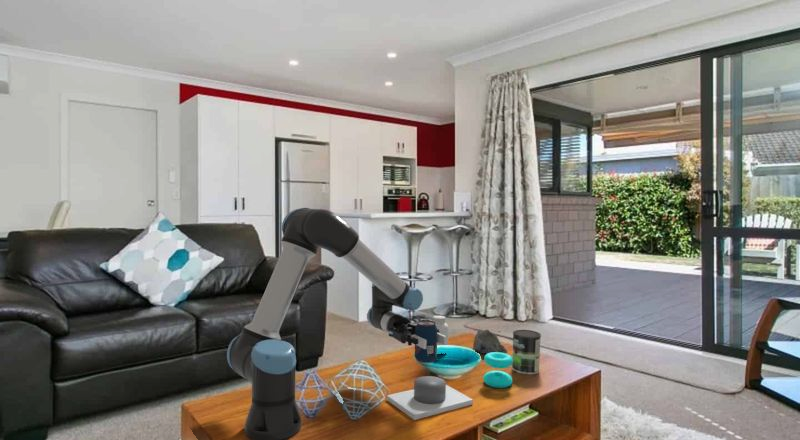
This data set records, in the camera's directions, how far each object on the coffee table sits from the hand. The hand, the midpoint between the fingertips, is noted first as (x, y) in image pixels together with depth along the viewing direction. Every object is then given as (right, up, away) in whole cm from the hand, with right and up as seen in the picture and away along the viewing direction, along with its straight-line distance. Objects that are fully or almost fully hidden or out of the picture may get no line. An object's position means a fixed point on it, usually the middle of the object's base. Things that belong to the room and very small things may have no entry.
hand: (435, 342), depth 148 cm
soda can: (-3, -7, +5) cm, 9 cm away
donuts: (+24, -20, +22) cm, 38 cm away
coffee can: (+37, -20, +37) cm, 56 cm away
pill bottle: (+5, -18, +56) cm, 59 cm away
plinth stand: (-1, -20, +6) cm, 21 cm away
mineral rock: (+26, -19, +54) cm, 63 cm away
